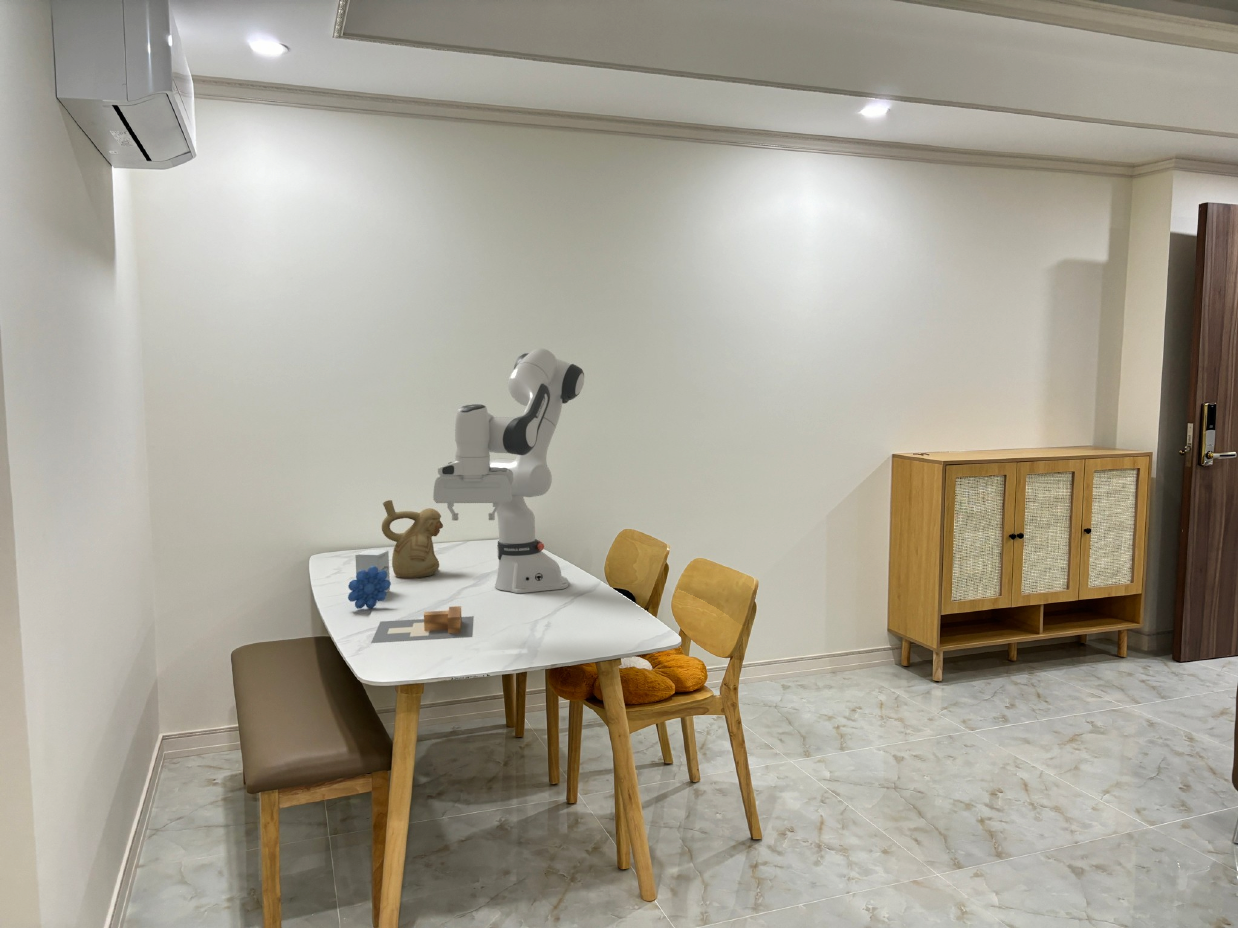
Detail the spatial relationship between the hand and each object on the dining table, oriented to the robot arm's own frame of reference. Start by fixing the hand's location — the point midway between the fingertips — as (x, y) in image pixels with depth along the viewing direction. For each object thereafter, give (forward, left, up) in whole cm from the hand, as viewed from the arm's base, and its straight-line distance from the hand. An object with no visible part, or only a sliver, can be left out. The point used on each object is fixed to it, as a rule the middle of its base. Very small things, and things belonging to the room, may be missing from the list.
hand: (473, 520), depth 223 cm
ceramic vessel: (+21, -58, -27) cm, 67 cm away
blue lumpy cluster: (+30, -19, -27) cm, 45 cm away
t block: (+8, +8, -26) cm, 28 cm away
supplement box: (+31, -35, -27) cm, 54 cm away
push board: (+13, +8, -27) cm, 31 cm away
